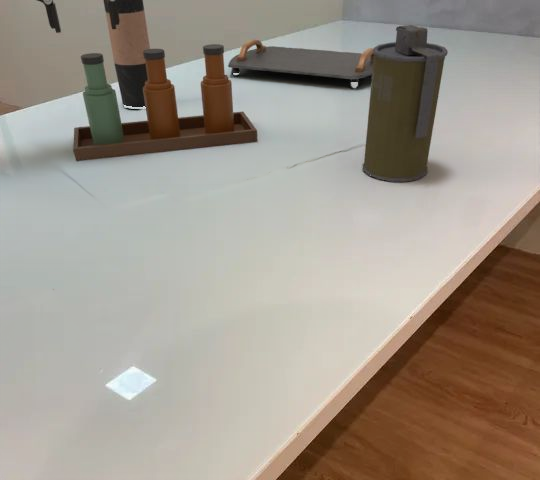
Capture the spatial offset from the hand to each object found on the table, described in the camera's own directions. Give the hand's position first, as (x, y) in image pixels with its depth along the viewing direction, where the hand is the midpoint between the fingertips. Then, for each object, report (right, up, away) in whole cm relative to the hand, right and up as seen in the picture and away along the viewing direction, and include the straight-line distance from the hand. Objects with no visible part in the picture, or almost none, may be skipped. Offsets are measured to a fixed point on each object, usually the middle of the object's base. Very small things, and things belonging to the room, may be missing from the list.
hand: (86, 30), depth 88 cm
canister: (+49, -22, +2) cm, 54 cm away
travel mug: (+1, +3, +33) cm, 33 cm away
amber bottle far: (+20, -10, +15) cm, 27 cm away
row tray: (+10, -13, +14) cm, 21 cm away
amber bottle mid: (+10, -12, +13) cm, 21 cm away
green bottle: (0, -14, +12) cm, 18 cm away
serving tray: (+38, +19, +51) cm, 67 cm away
